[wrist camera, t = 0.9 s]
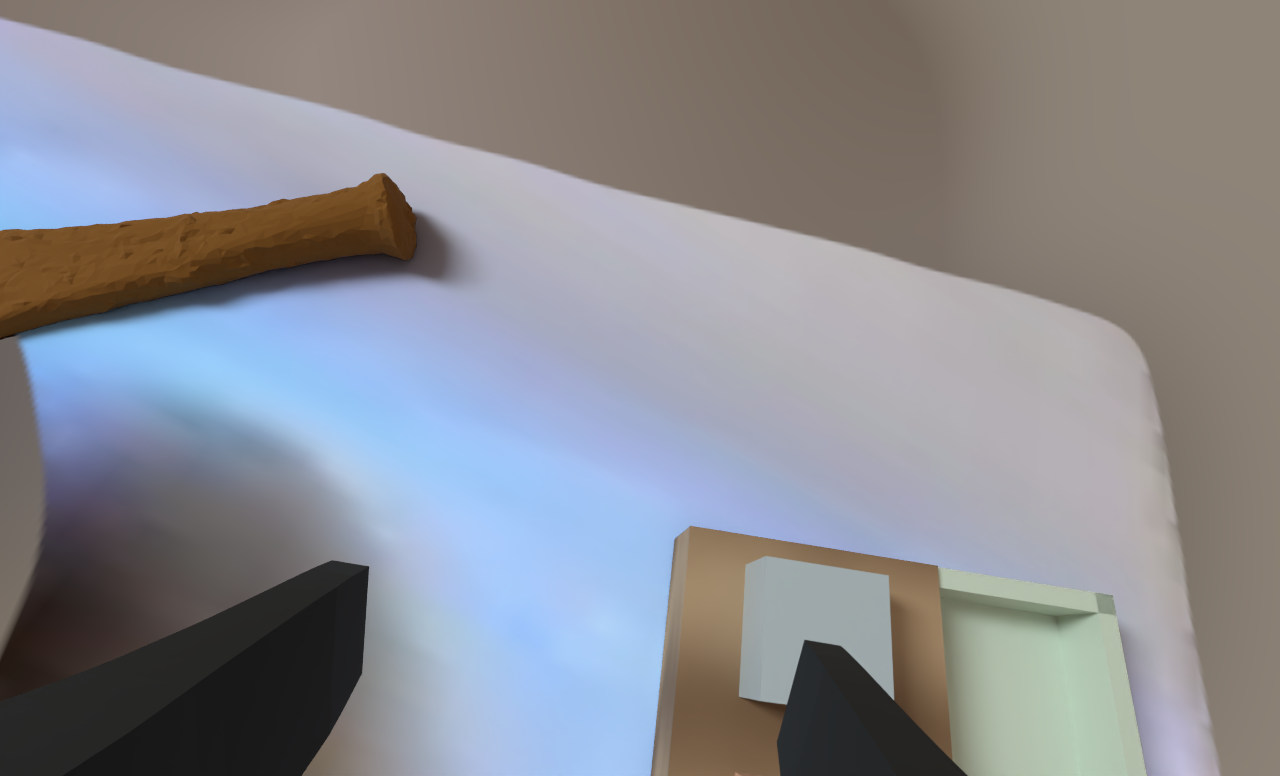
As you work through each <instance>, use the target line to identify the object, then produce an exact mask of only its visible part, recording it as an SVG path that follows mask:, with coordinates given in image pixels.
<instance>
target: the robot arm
mask: <svg viewBox="0 0 1280 776" xmlns="http://www.w3.org/2000/svg"><path fill="white" fill-rule="evenodd" d="M368 574H369V566H363V565H357V564H351V563H345V562H339V561H333V560H332V561H329V562H327V563H324V564H322V565H320V566H317V567H315V568H313V569H311V570H308V571H306V572H304V573H302V574H300V575H298V576H296V577H294V578H291V579H289V580H287V581H285V582H283V583H281V584H279V585H277V586H275V587H273V588H271V589H269V590H267V591H265V592H263V593H260V594H258V595H256V596H254V597H252V598H250V599H248V600H246V601H244V602H242V603H239V604H237V605H235V606H233V607H231V608H229V609H227V610H225V611H223V612H221V613H218V614H216V615H214V616H212V617H210V618H208V619H206V620H204V621H201V622H199V623H197V624H195V625H192V626H190V627H188V628H186V629H183V630H181V631H179V632H176V633H174V634H172V635H169V636H167V637H165V638H163V639H160V640H158V641H156V642H153V643H151V644H149V645H146V646H144V647H142V648H140V649H137V650H135V651H133V652H130V653H128V654H126V655H124V656H121V657H119V658H116V659H114V660H111V661H109V662H106V663H104V664H101V665H99V666H96V667H94V668H91V669H89V670H86V671H84V672H81V673H78V674H76V675H73V676H71V677H68V678H65V679H62V680H60V681H57V682H54V683H51V684H49V685H46V686H43V687H40V688H38V689H35V690H32V691H29V692H27V693H24V694H21V695H18V696H15V697H13V698H10V699H7V700H4V701H1V702H0V776H302V774H303V773H304V771H305V770H306V768H307V767H308V765H309V764H310V762H311V761H312V760H313V758H314V757H315V755H316V754H317V752H318V751H319V749H320V748H321V746H322V745H323V743H324V742H325V740H326V739H327V737H328V736H329V734H330V733H331V731H332V729H333V727H334V725H335V723H336V722H337V720H338V718H339V716H340V714H341V712H342V711H343V709H344V707H345V705H346V703H347V701H348V699H349V697H350V695H351V693H352V692H353V690H354V688H355V686H356V684H357V682H358V680H359V678H360V676H361V674H362V665H363V650H364V635H365V620H366V604H367V589H368ZM777 749H778V758H779V767H780V776H968V775H967V774H966V773H965V772H964V771H963V770H962V769H961V768H959V767H958V766H957V765H956V764H955V763H954V762H953V761H952V760H951V759H950V758H949V757H948V756H947V755H946V754H945V753H944V752H943V751H942V750H941V749H940V748H939V747H938V746H937V745H936V744H935V743H934V742H933V741H932V740H931V738H930V737H929V736H928V735H927V734H926V733H925V732H924V731H923V730H922V729H921V728H920V727H919V726H918V725H917V724H916V723H915V722H914V721H913V720H912V719H911V718H910V717H909V716H908V715H907V714H906V712H905V711H904V710H903V709H902V708H901V707H900V706H899V705H898V704H897V703H896V702H895V701H894V700H893V699H892V698H891V697H890V696H889V694H888V693H887V692H886V691H885V690H884V689H883V688H882V687H881V686H880V685H879V684H878V683H877V682H876V681H875V680H874V679H873V677H872V676H871V675H870V674H869V673H868V672H867V671H866V670H865V669H864V668H863V667H862V666H861V665H860V664H859V663H858V662H857V661H856V660H855V659H854V658H853V657H852V656H851V655H850V654H849V653H848V652H847V651H846V650H845V649H844V648H843V647H842V646H839V645H833V644H827V643H822V642H816V641H810V640H804V643H803V647H802V650H801V654H800V658H799V661H798V665H797V669H796V672H795V676H794V680H793V684H792V687H791V691H790V695H789V698H788V702H787V706H786V710H785V713H784V717H783V721H782V724H781V728H780V732H779V736H778V739H777Z"/></svg>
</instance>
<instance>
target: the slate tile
mask: <svg viewBox="0 0 1280 776" xmlns="http://www.w3.org/2000/svg"><path fill="white" fill-rule="evenodd" d="M804 640H810V641H816V642H822V643H827V644H833V645H839V646H842V647H843V648H844V649H845V650H846V651H847V652H848V653H849V654H850V655H851V656H852V657H853V658H854V659H855V660H856V661H857V662H858V663H859V664H860V665H861V666H862V667H863V668H864V669H865V670H866V671H867V672H868V673H869V674H870V675H871V676H872V677H873V679H874V680H875V681H876V682H877V683H878V684H879V685H880V686H881V687H882V688H883V689H884V690H885V691H886V692H887V693H888V694H889V696H890V697H891V698H892V699H893V700H894V684H893V661H892V639H891V616H890V593H889V575H882V574H876V573H870V572H864V571H857V570H851V569H845V568H838V567H832V566H826V565H820V564H813V563H807V562H801V561H794V560H788V559H782V558H776V557H769V556H765V557H762V558H760V559H758V560H756V561H753V562H751V563H749V564H746V567H745V586H744V606H743V625H742V645H741V664H740V684H739V697H743V698H748V699H753V700H758V701H764V702H771V703H778V704H786V705H787V702H788V698H789V695H790V691H791V687H792V684H793V680H794V676H795V672H796V669H797V665H798V661H799V658H800V654H801V650H802V647H803V643H804Z"/></svg>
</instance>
